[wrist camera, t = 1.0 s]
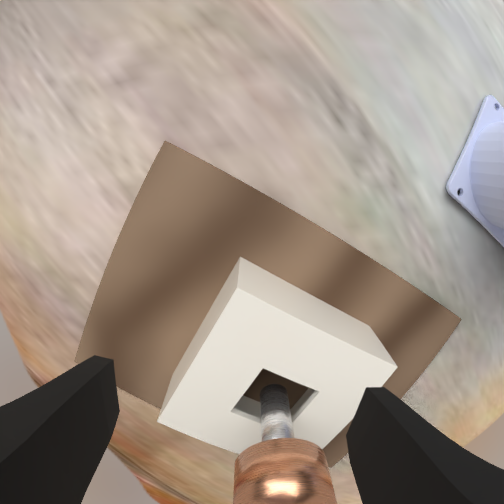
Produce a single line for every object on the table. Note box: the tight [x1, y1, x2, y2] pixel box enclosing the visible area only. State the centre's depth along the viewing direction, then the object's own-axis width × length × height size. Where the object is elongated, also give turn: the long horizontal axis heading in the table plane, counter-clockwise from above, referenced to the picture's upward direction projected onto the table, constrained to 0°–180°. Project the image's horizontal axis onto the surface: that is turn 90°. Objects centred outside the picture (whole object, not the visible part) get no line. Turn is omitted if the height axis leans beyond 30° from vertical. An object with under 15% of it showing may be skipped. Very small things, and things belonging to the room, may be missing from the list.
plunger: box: [233, 384, 337, 504], centre depth 12 cm, size 4×4×7 cm
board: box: [75, 141, 461, 467], centre depth 19 cm, size 22×16×1 cm
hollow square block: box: [157, 257, 397, 454], centre depth 17 cm, size 9×9×5 cm
